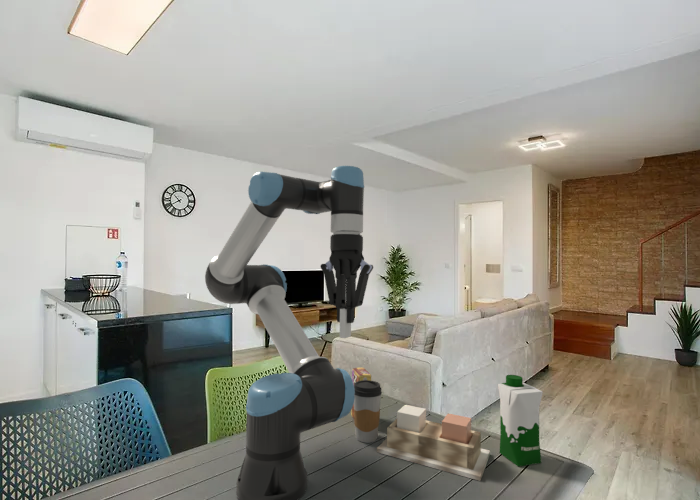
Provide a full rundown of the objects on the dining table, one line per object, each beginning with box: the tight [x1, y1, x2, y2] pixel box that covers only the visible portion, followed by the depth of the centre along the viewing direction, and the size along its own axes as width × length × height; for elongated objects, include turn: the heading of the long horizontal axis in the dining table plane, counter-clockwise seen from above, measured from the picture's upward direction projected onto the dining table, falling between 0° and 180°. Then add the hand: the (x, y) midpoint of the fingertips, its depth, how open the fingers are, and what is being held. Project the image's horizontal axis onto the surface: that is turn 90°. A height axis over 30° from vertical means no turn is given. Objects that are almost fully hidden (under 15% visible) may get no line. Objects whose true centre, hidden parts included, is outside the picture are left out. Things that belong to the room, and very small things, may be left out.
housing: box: [376, 418, 491, 482], centre depth 99 cm, size 26×14×6 cm, turn 61°
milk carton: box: [497, 374, 544, 467], centre depth 98 cm, size 9×9×20 cm
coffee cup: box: [353, 380, 383, 444], centre depth 108 cm, size 8×8×15 cm
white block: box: [396, 404, 427, 433], centre depth 102 cm, size 6×6×7 cm
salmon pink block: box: [441, 413, 472, 444], centre depth 96 cm, size 6×6×7 cm
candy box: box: [350, 367, 372, 420], centre depth 120 cm, size 9×4×15 cm, turn 13°
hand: (345, 336), depth 87 cm, fingers closed
